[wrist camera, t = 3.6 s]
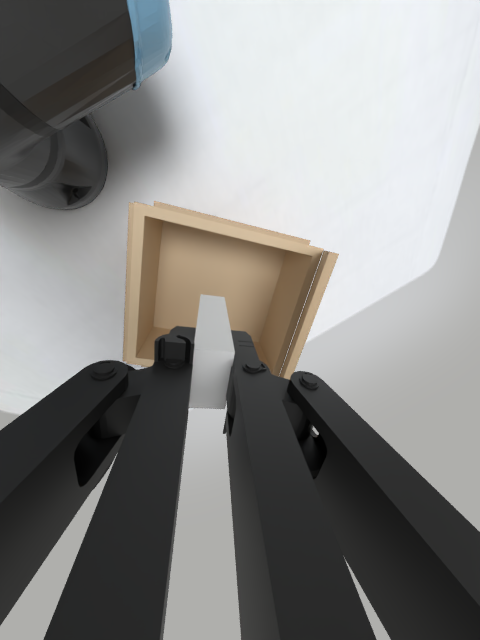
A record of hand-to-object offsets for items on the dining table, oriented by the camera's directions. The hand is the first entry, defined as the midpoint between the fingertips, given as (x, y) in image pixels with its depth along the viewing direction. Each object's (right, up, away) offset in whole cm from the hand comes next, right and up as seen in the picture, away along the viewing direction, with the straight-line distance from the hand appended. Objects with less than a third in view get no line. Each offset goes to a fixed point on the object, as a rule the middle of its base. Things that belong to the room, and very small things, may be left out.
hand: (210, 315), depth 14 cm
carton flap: (+9, -2, +14) cm, 17 cm away
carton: (-2, +6, +28) cm, 29 cm away
